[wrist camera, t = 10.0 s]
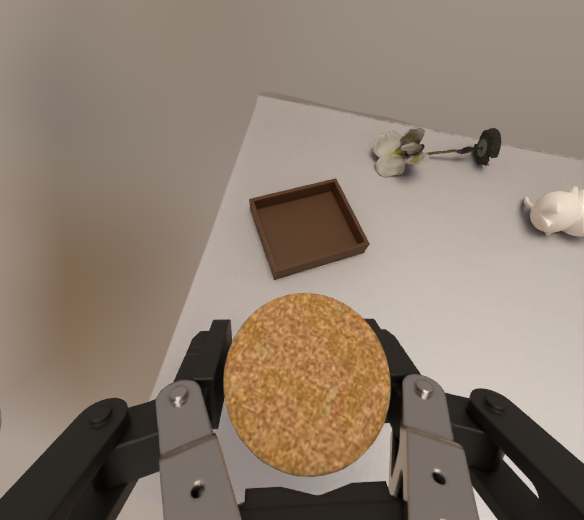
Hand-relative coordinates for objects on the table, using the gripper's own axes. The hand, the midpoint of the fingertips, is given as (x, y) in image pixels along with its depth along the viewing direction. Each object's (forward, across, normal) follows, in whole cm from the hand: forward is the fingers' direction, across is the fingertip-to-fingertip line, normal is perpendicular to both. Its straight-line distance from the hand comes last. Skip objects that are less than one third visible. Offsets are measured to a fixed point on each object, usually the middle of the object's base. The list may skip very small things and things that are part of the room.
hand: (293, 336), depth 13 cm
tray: (+33, -5, +3) cm, 34 cm away
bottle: (+6, 0, +9) cm, 11 cm away
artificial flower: (+44, -29, -7) cm, 53 cm away
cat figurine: (+35, -49, +1) cm, 60 cm away
